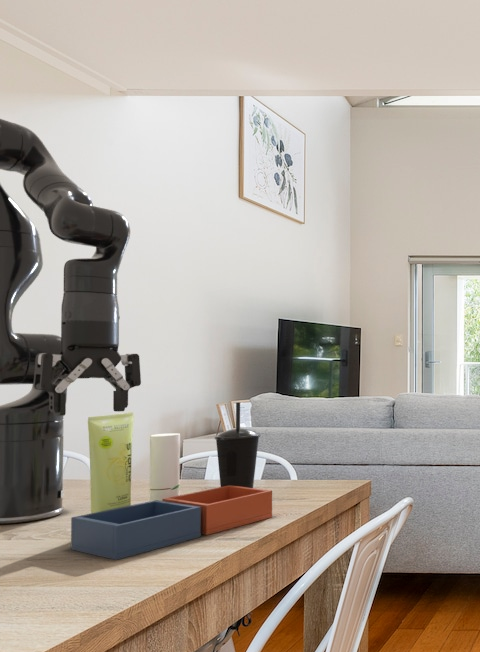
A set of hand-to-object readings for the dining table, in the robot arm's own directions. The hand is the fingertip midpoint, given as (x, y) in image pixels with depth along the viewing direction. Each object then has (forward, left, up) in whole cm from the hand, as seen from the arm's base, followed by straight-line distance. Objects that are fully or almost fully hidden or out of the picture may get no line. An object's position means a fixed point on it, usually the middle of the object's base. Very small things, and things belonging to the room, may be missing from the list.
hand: (90, 413), depth 100 cm
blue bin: (+19, -3, -19) cm, 27 cm away
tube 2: (+8, +7, -19) cm, 22 cm away
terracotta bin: (+19, +10, -19) cm, 29 cm away
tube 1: (+10, -2, -19) cm, 22 cm away
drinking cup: (+10, +19, -19) cm, 29 cm away
